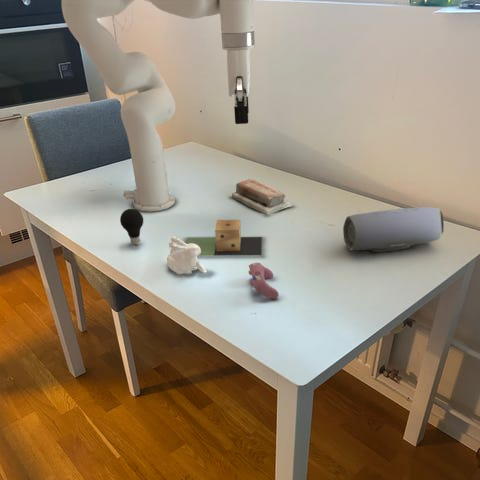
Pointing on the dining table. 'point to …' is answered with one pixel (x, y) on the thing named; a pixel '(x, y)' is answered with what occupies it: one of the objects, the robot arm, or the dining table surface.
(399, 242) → the bluetooth speaker
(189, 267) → the rabbit figurine
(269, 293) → the video game controller
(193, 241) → the dice mat
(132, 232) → the light bulb
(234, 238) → the die
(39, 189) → the dining table surface
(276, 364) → the dining table surface
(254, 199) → the packaged product
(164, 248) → the dining table surface
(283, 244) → the dining table surface
